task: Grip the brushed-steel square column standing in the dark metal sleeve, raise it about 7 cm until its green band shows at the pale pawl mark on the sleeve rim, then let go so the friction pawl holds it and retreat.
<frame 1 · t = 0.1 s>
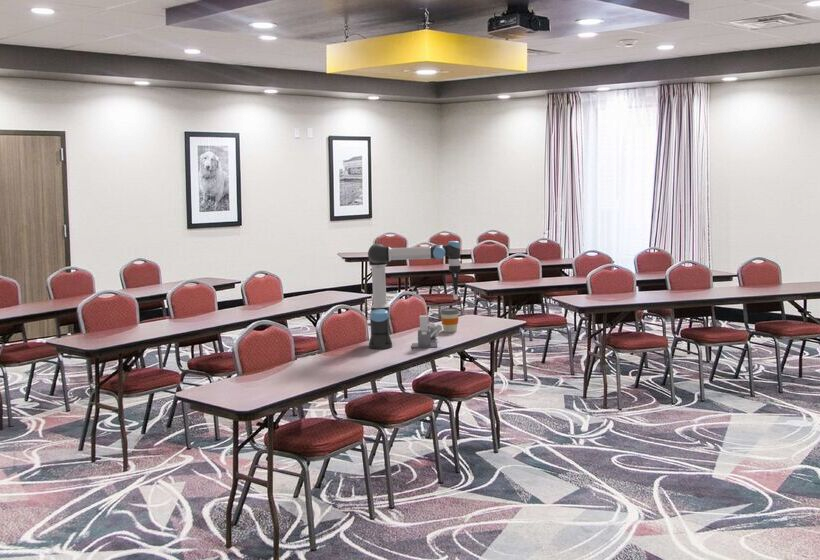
hand: (455, 297, 562), 28 cm above the table, fingers open, 13 cm apart
reusable coffee cup: (450, 331, 601), on the table
valve: (428, 340, 570), on the table
column: (424, 330, 549), point 10 cm above the table, slide at 0.0 cm
stand base: (424, 346, 550), on the table
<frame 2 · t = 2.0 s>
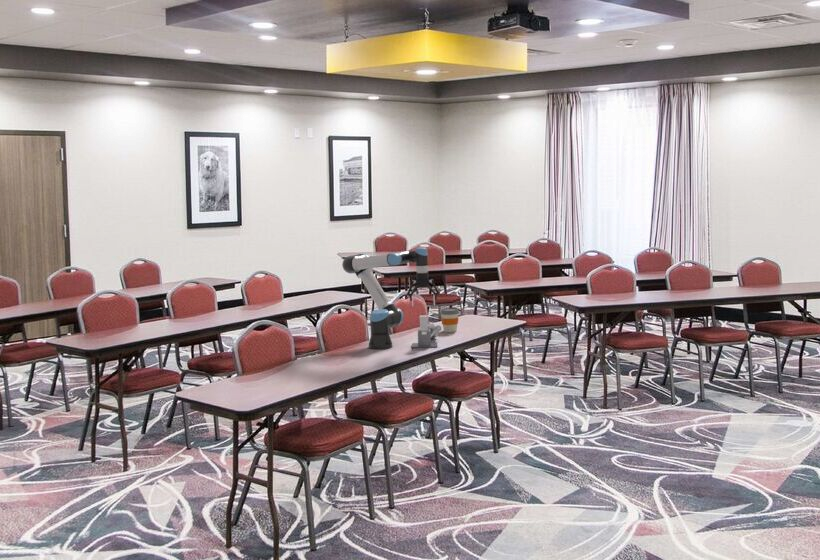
hand: (423, 305, 547), 26 cm above the table, fingers open, 13 cm apart
valve: (428, 341, 569), on the table
everything else where it was.
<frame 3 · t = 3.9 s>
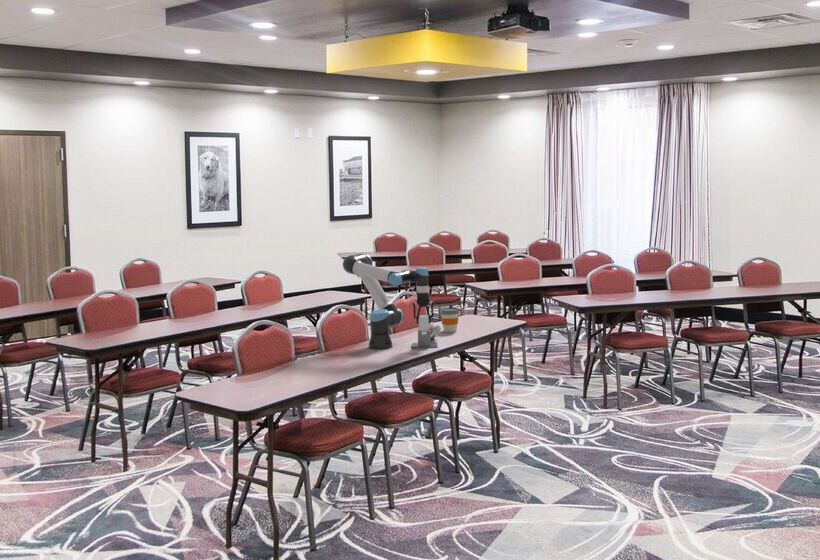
hand: (423, 328, 549), 11 cm above the table, fingers closed on column, 5 cm apart
valve: (427, 341, 567), on the table
column: (424, 330, 549), point 10 cm above the table, slide at 0.0 cm, touching gripper
everything else where it was.
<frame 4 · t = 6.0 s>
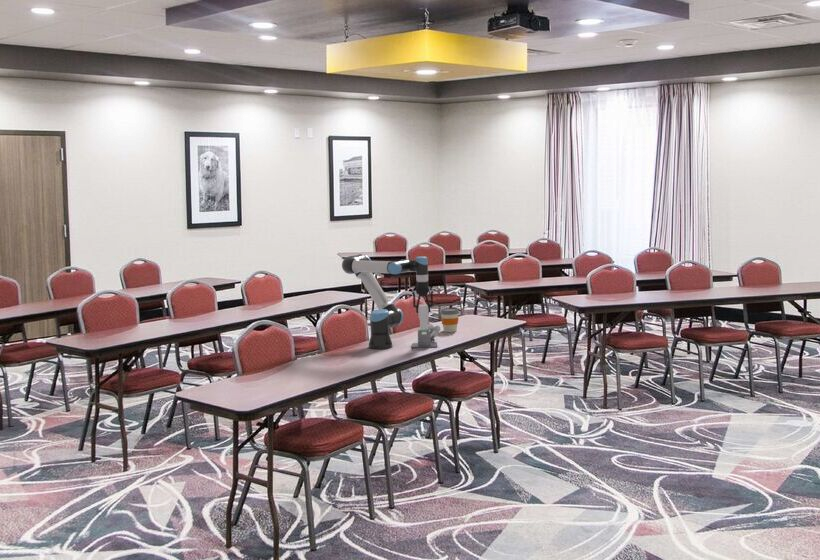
hand: (423, 317, 548), 18 cm above the table, fingers closed on column, 5 cm apart
column: (423, 319, 548), point 17 cm above the table, slide at 7.0 cm, touching gripper
everything else where it was.
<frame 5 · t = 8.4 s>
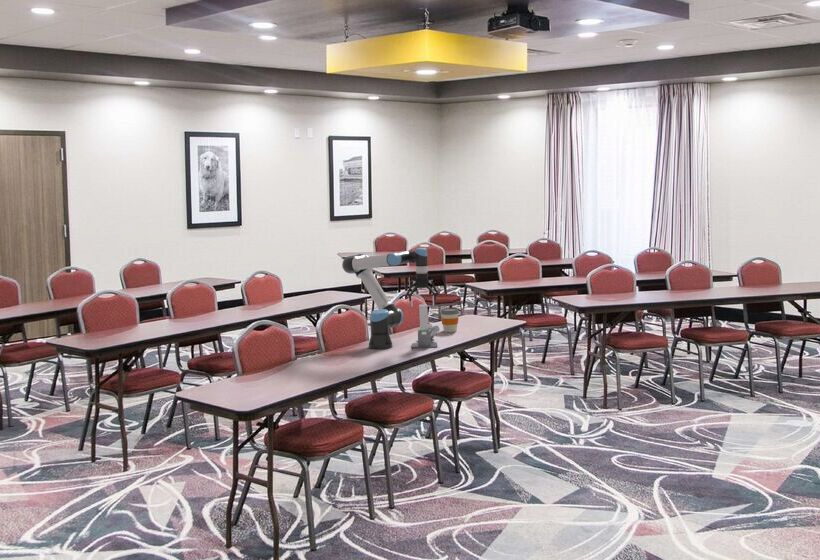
hand: (422, 306, 547), 26 cm above the table, fingers open, 13 cm apart
column: (423, 319, 548), point 17 cm above the table, slide at 7.0 cm
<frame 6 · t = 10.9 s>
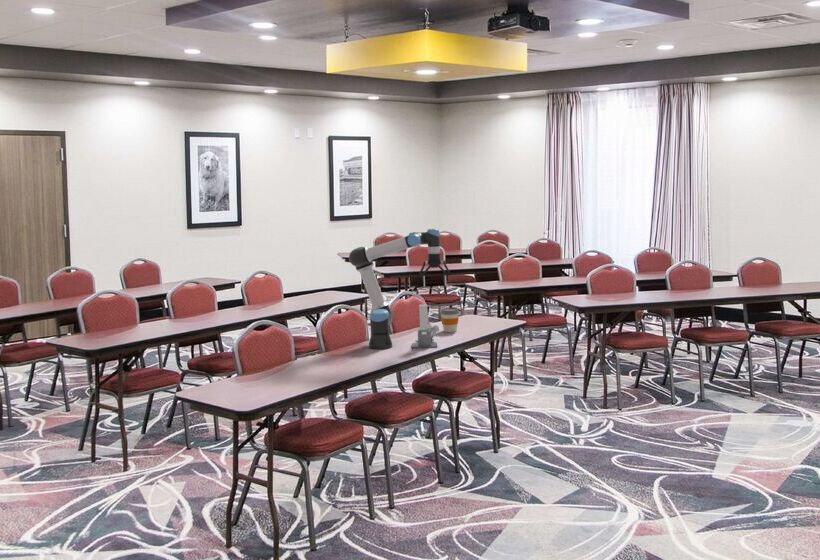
hand: (435, 286, 556), 37 cm above the table, fingers open, 13 cm apart
at the end: column slide at 7.0 cm; the gripper is holding nothing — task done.
